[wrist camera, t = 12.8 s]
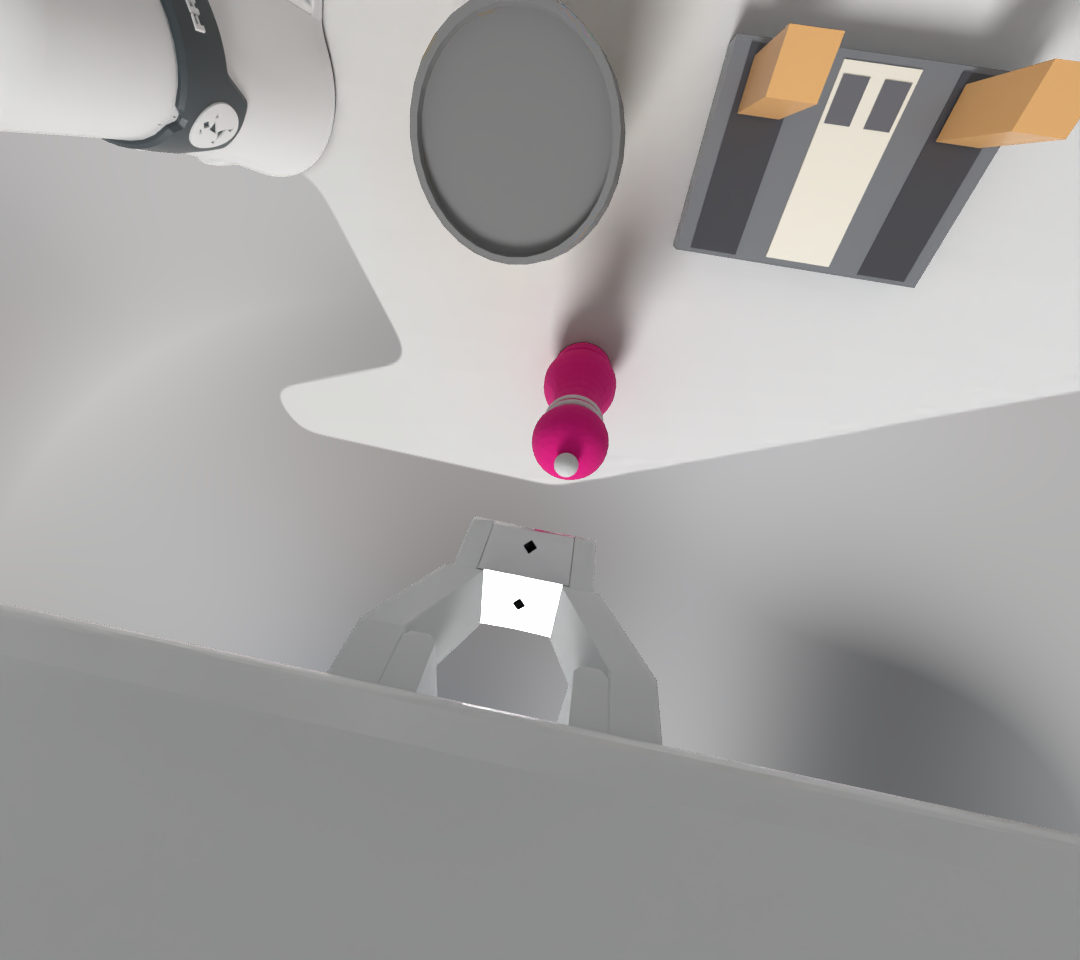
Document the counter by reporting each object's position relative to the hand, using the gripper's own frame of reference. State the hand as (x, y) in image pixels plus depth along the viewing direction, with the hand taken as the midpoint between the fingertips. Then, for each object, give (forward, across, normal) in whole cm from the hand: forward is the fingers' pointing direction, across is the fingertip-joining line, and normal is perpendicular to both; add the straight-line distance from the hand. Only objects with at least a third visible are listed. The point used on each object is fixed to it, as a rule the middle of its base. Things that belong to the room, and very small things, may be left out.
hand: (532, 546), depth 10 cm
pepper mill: (+37, -1, +9) cm, 38 cm away
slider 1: (+34, -10, -14) cm, 38 cm away
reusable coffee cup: (+37, +6, -8) cm, 39 cm away
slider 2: (+34, -24, -14) cm, 44 cm away
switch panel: (+37, -16, -10) cm, 42 cm away
